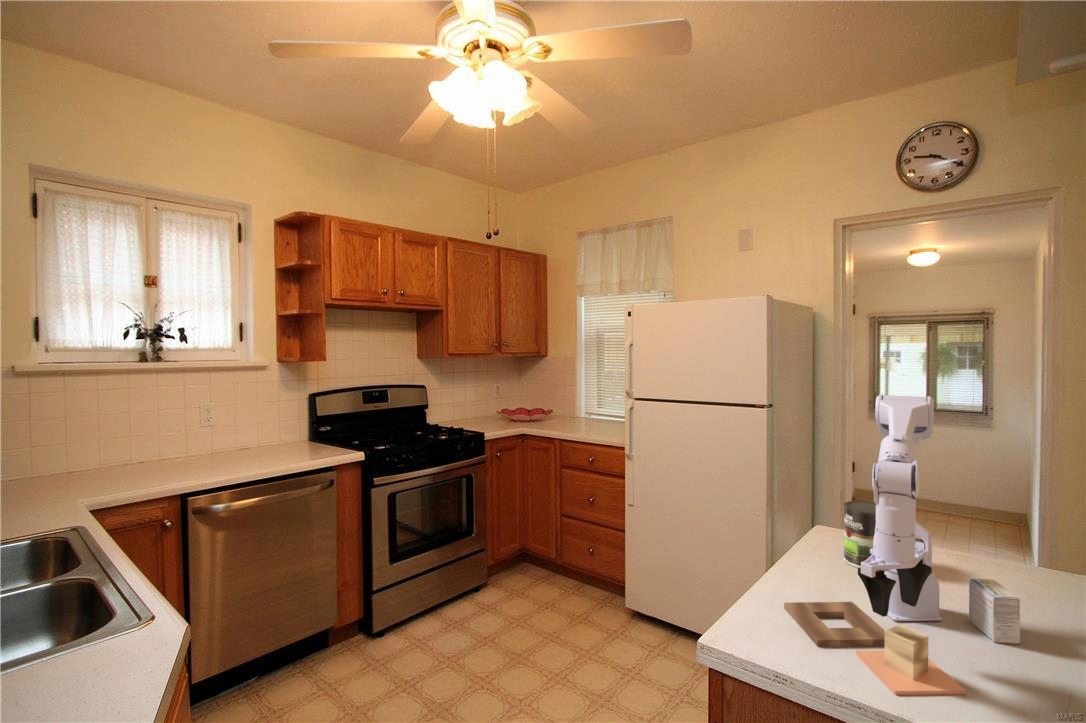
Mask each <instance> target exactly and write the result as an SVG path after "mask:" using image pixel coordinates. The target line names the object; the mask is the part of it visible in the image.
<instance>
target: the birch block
mask: <svg viewBox="0 0 1086 723" xmlns="http://www.w3.org/2000/svg"><path fill="white" fill-rule="evenodd" d="M884 650H885V659H884V666H886V667H888V668H890V669H892V670H894V671H896V672H898V673H900V674H902V675H904V676H906V677H908V678H910V679H912V680H915V679H916V678H918V677H920V676H922V675H923V674H925V673H927V672H928V659H929V636H928V635H926V634H924V633H922V632H920V631H918V630H915V629H912V628H910V627H907V626H905V625H903V624H901V623H899V624H896V625H895V626H892V627H890V628H889V629H887V630H885V646H884Z"/></svg>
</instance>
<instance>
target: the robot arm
mask: <svg viewBox="0 0 1086 723" xmlns="http://www.w3.org/2000/svg"><path fill="white" fill-rule="evenodd" d="M934 404H935V400H934V398H933V397H932V396H931V395H929V396H916V395H915V396H914V395H913V396H912V395H892V394H891V395H889V394H888V395H886V394H885V395H883V394H878V395H877V396H876V398H875V410H874V412H875V413H874V414H875V415H874V416H875V421H876V425H877V426H876V427H877V429H878V432H879V434H880V435H882V436H883V437H884V438H882V440H881V442H880V448H879V454H878V459H877V460H878V461H877V463H876V462H874V463H873V465H872V471H871V472H872V474H871V480H872V481H871V484H872V489H873V490H872V491H873V502H874V503H876V527H875V534H874V541H873V548H872V549H870V553H871V554H872V555H871V556H870V557H869V558H868V559H867V560H865V561H863V562H861V568H857V575H858V577H859V578H860V580H861V582H862V583H863V586H864V587H865V590H866V592H867V595H868V598H869V602H870V606H871V609H872V612H873V613H875V614H877V615H879V616H881V617H887V616H888V617H889V618H890V619H891V620H892V621H894V622H895V621H896V622H918V621H919V622H920V621H921V622H925V621H926V622H927V621H928V622H930V621H934V622H935V621H943V618H942V616H940V584H939V581H938V578H937V576H936V575H935V573H934V572H933V568H932V567H933V563H932V562H933V542H932V534H930V533H931V532H930V531H929V530H928V529H927V528H925V527H924V526H923V525H922V524H920V523H919V522H918V521H917V520H916V512H917V511H916V509H917V508H916V507H917V506H916V505H917V498H918V495H919V492H920V468H919V466H918V455H919V446H920V444H921V442H922V441H923V440H924V441H925V440H927V439H930V438H932V434H933V431H934V428H933V427H934V420H935V418H934V416H935V413H934V412H935V410H934V409H935V408H934V407H935V406H934ZM916 537H917V538H916Z"/></svg>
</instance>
